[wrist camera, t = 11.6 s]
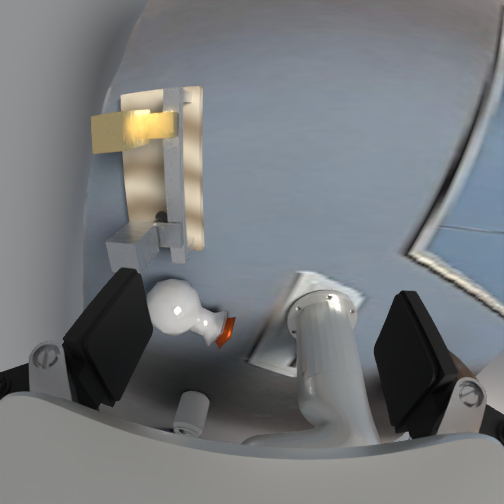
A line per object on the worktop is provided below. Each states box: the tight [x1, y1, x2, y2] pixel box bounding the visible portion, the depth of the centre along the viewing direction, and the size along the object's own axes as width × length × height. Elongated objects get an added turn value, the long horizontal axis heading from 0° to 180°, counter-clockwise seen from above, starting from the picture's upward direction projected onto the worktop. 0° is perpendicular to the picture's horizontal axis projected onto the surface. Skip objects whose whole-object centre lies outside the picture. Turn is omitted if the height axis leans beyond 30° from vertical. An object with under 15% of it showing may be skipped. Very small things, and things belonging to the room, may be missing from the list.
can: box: [173, 391, 210, 438], centre depth 60 cm, size 8×8×12 cm
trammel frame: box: [106, 87, 195, 274], centre depth 31 cm, size 23×7×12 cm, turn 178°
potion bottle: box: [146, 278, 236, 349], centre depth 45 cm, size 9×10×15 cm
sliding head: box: [91, 110, 177, 154], centre depth 27 cm, size 4×7×12 cm, turn 88°
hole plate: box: [121, 86, 204, 251], centre depth 37 cm, size 24×12×2 cm, turn 178°
